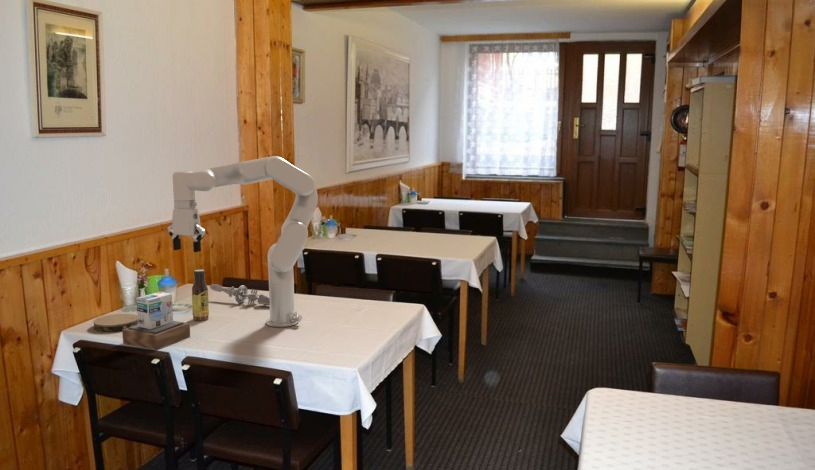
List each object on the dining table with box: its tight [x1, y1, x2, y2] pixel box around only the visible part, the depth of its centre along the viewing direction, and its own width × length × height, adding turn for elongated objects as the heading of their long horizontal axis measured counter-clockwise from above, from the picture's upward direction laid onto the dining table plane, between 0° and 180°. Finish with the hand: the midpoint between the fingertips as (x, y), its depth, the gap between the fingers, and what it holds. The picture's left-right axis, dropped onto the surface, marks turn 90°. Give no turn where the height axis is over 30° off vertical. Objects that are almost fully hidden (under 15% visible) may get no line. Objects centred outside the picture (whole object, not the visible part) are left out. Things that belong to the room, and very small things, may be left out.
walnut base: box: [121, 320, 191, 351], centre depth 240 cm, size 16×16×6 cm
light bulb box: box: [135, 291, 174, 329], centre depth 239 cm, size 11×7×11 cm, turn 150°
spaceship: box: [209, 283, 270, 306], centre depth 290 cm, size 8×35×8 cm
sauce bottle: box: [191, 269, 210, 322], centre depth 264 cm, size 7×6×20 cm
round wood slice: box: [93, 313, 138, 333], centre depth 257 cm, size 16×16×3 cm
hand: (187, 250), depth 248 cm, fingers open, 9 cm apart
